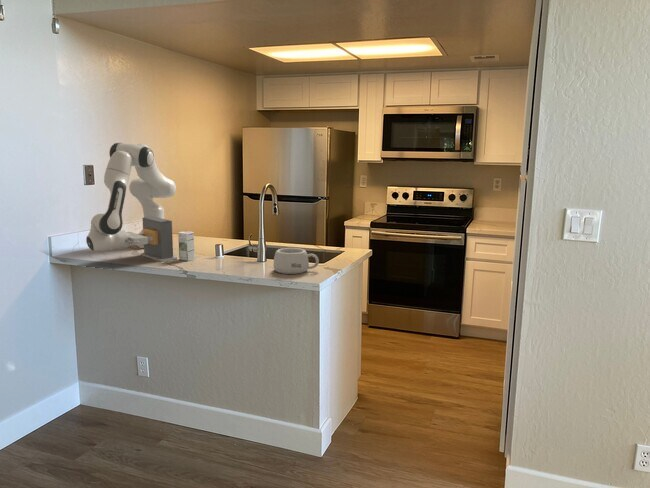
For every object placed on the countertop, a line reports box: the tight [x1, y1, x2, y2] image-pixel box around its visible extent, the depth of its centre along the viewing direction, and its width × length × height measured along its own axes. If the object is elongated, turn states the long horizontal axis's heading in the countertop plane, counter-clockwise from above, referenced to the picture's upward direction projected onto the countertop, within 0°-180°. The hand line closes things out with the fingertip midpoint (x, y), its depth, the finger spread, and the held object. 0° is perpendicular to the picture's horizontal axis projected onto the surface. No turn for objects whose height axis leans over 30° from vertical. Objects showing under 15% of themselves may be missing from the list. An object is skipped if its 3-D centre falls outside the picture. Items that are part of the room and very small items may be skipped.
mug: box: [273, 247, 320, 275], centre depth 248 cm, size 21×17×10 cm
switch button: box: [142, 227, 158, 245], centre depth 270 cm, size 12×3×7 cm, turn 44°
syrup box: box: [177, 230, 196, 262], centre depth 268 cm, size 6×6×14 cm
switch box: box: [140, 217, 178, 263], centre depth 273 cm, size 22×9×20 cm, turn 44°
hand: (148, 236), depth 269 cm, fingers open, 8 cm apart
